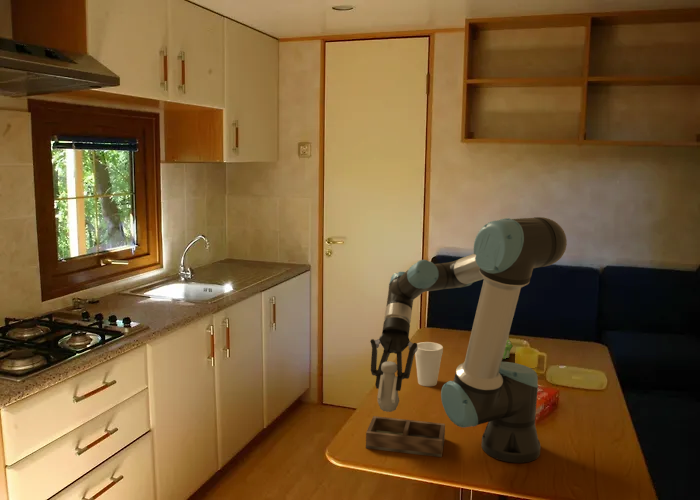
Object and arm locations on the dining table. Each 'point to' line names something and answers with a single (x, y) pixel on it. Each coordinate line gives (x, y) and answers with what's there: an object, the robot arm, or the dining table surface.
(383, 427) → the wooden compartment tray
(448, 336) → the dining table surface
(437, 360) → the foam cup
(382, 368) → the salt shaker
